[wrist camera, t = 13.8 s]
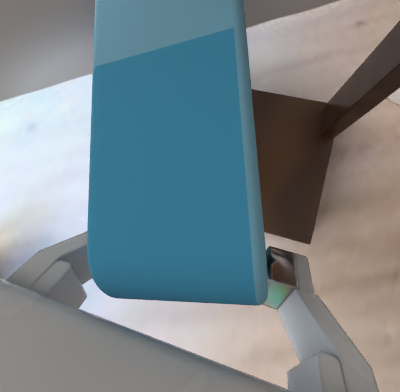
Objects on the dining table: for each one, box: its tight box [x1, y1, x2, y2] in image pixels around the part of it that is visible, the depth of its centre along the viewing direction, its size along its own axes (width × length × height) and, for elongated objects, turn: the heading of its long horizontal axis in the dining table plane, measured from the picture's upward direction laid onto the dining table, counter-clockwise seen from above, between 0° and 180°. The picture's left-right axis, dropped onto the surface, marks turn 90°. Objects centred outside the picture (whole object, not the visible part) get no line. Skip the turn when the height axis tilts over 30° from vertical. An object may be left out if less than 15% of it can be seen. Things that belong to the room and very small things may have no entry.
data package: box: [87, 0, 268, 305], centre depth 11 cm, size 12×4×12 cm, turn 3°
